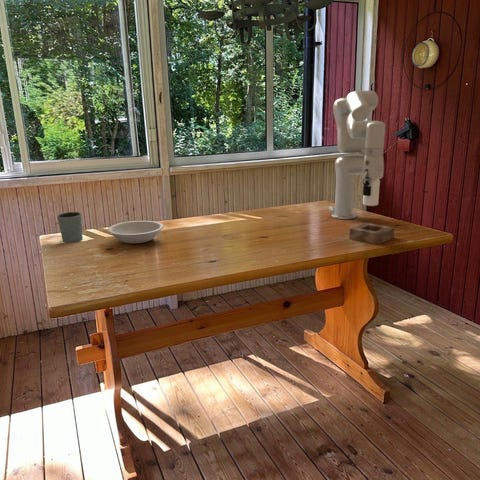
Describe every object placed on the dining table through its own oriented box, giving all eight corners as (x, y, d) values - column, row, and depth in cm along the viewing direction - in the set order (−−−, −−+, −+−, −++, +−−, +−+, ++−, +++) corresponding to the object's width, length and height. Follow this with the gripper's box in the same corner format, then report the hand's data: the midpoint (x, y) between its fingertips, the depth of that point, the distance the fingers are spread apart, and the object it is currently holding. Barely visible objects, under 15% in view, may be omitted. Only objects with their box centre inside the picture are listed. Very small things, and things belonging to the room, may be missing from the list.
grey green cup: (85, 236, 208) (82, 211, 205) (83, 242, 199) (79, 216, 195) (62, 238, 206) (59, 212, 203) (58, 244, 197) (55, 217, 193)
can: (376, 203, 198) (378, 175, 194) (379, 206, 192) (381, 178, 188) (361, 203, 199) (363, 175, 195) (363, 206, 192) (365, 178, 189)
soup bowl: (142, 252, 184) (141, 237, 182) (97, 246, 194) (95, 231, 192) (174, 237, 205) (173, 223, 203) (132, 232, 215) (131, 218, 213)
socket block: (349, 238, 199) (349, 228, 197) (364, 231, 208) (365, 222, 207) (378, 244, 189) (379, 234, 188) (393, 237, 199) (394, 227, 198)
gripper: (371, 154, 180) (368, 198, 185) (392, 151, 192) (388, 192, 197) (355, 153, 185) (352, 196, 190) (375, 150, 197) (373, 190, 202)
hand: (371, 193), depth 194 cm, fingers closed on can, 6 cm apart
